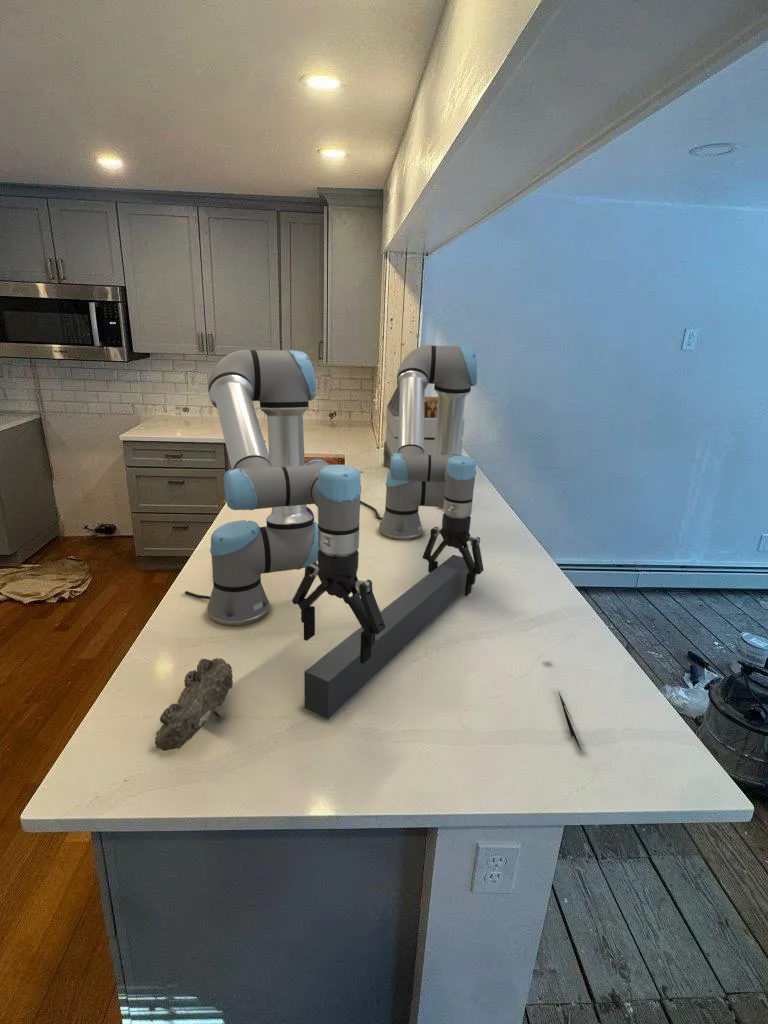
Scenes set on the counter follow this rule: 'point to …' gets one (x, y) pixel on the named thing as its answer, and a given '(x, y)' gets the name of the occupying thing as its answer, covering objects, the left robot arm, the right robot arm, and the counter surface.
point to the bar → (382, 639)
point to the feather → (569, 721)
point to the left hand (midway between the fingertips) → (336, 648)
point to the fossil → (195, 703)
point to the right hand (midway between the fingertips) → (450, 588)
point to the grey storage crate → (393, 426)
